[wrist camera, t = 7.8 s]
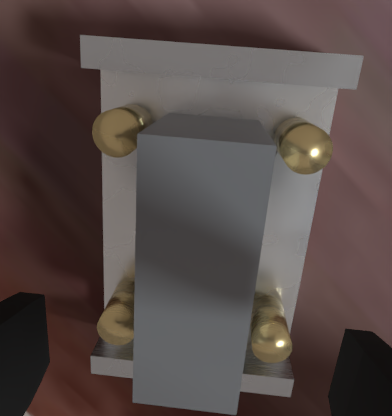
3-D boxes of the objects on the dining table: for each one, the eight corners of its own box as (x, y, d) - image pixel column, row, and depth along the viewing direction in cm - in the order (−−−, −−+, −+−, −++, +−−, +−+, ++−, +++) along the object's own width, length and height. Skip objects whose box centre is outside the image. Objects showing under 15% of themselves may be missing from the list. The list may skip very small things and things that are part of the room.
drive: (259, 120, 14) (278, 145, 9) (234, 314, 17) (237, 415, 12) (168, 112, 14) (136, 133, 9) (159, 305, 17) (131, 402, 12)
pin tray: (336, 59, 14) (369, 54, 11) (281, 349, 19) (292, 406, 16) (108, 42, 15) (73, 33, 11) (110, 330, 19) (87, 381, 16)
